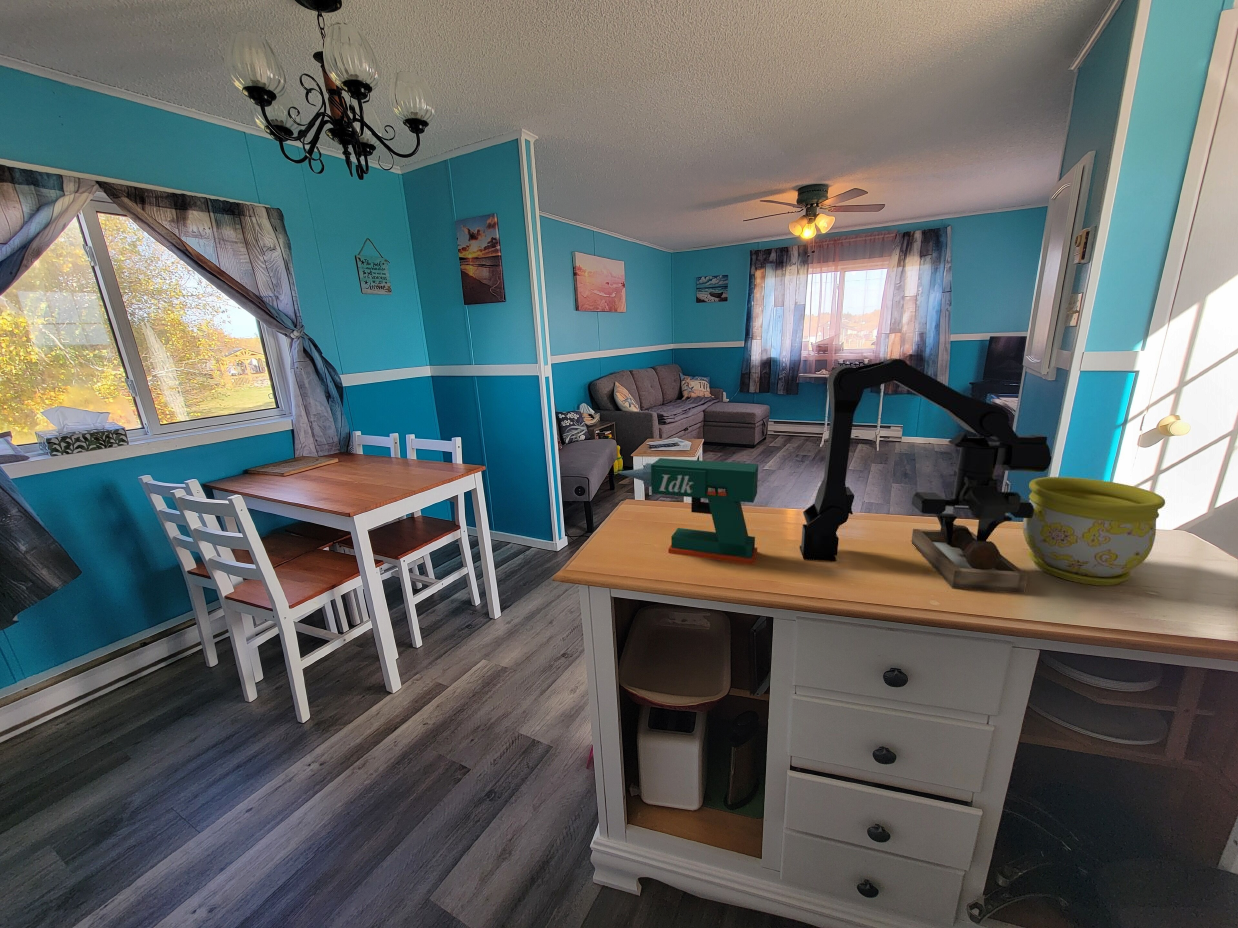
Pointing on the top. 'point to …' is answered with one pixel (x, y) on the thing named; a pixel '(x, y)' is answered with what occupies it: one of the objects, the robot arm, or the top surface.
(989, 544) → the bolt
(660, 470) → the power tool
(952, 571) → the wooden tray
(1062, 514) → the flowerpot
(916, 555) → the top surface
